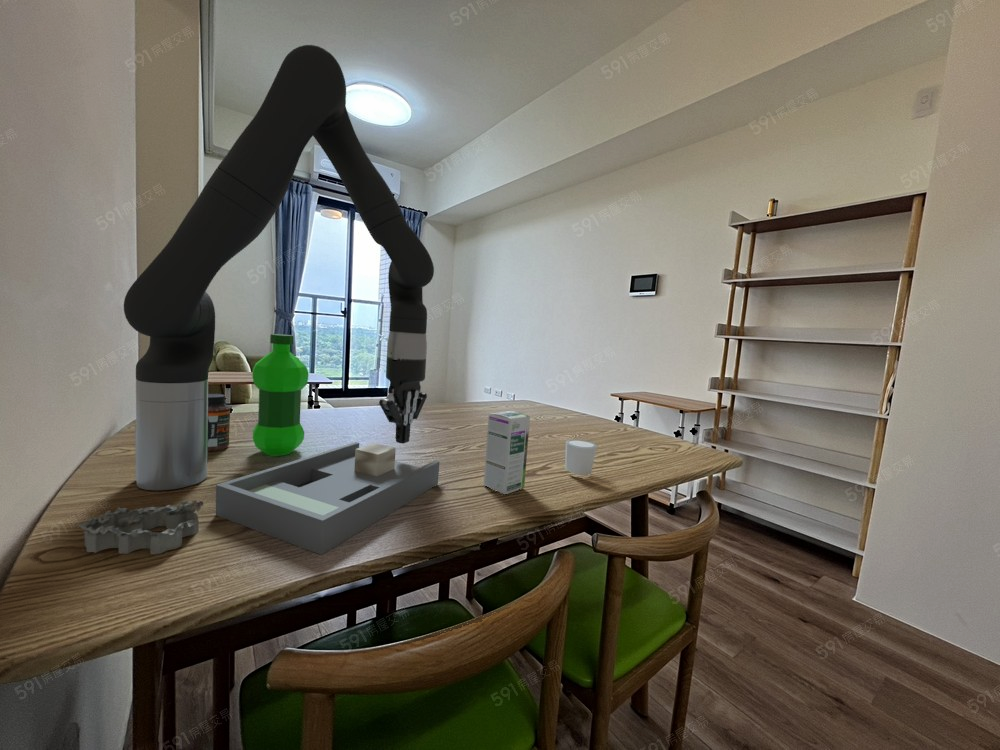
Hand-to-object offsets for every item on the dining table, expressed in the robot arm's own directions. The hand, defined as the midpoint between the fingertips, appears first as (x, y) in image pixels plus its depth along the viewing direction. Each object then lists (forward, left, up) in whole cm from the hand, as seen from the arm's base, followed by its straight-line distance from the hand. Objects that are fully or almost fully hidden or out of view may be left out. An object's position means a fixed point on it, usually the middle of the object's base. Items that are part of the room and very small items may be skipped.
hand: (402, 442), depth 81 cm
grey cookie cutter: (-11, -38, -7) cm, 40 cm away
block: (0, -8, -4) cm, 8 cm away
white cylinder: (+32, +21, -6) cm, 39 cm away
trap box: (0, -16, -6) cm, 17 cm away
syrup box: (+21, +4, -6) cm, 22 cm away
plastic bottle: (-27, -6, -6) cm, 29 cm away
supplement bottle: (-39, -12, -6) cm, 41 cm away
